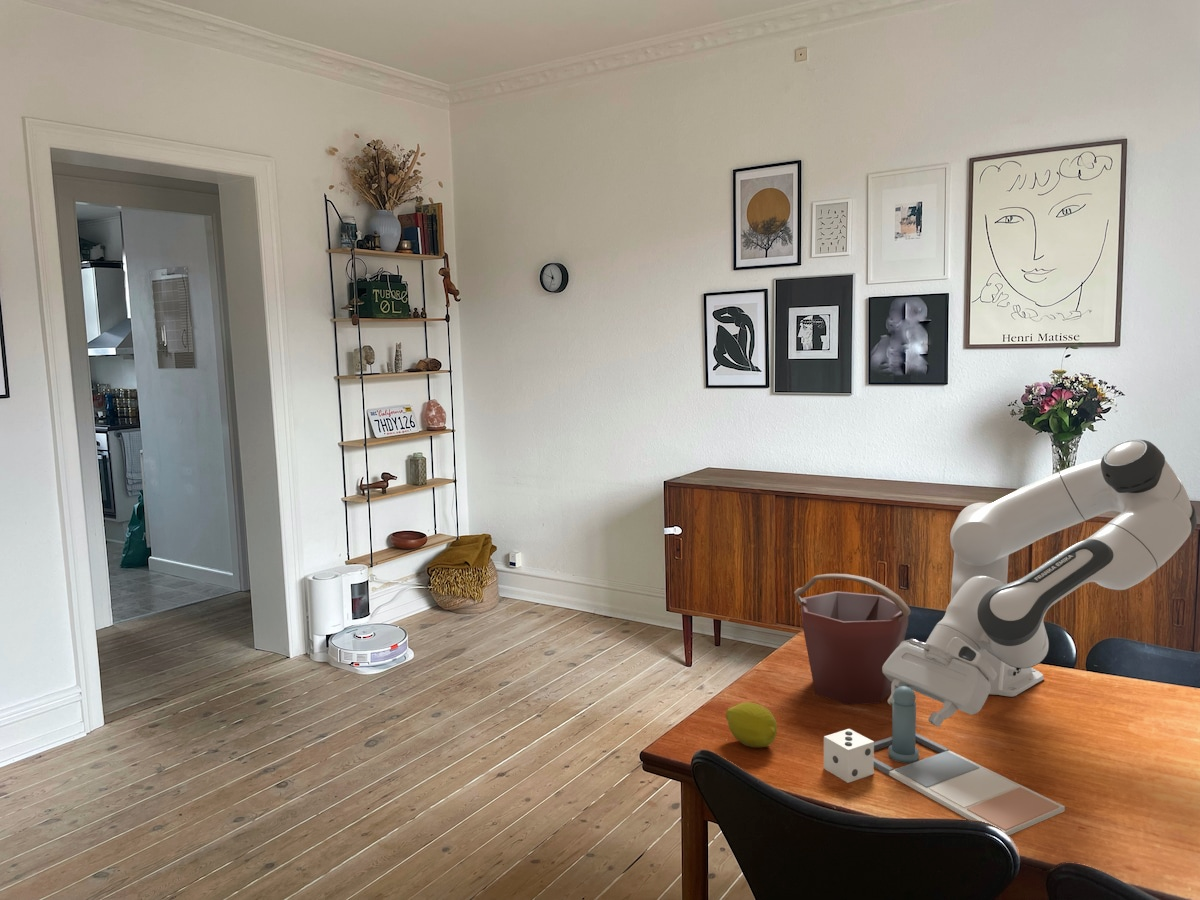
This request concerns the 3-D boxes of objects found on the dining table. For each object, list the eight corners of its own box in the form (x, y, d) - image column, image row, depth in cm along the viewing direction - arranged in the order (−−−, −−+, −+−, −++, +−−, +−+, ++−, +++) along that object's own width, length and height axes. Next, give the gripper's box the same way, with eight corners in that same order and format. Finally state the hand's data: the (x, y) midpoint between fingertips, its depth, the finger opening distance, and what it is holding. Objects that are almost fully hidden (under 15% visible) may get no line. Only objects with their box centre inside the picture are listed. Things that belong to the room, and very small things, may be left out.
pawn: (902, 747, 162) (903, 679, 160) (925, 758, 158) (926, 688, 156) (882, 753, 160) (883, 685, 158) (904, 765, 155) (905, 695, 154)
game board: (910, 735, 167) (910, 730, 167) (1064, 811, 139) (1064, 805, 139) (852, 754, 160) (852, 749, 160) (1002, 838, 132) (1002, 832, 132)
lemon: (787, 749, 162) (787, 708, 161) (756, 761, 158) (756, 719, 157) (748, 728, 172) (747, 690, 171) (717, 739, 167) (717, 699, 166)
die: (848, 760, 158) (849, 727, 157) (874, 774, 152) (874, 741, 152) (823, 768, 155) (823, 735, 154) (847, 783, 150) (848, 749, 149)
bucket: (774, 685, 192) (774, 575, 189) (834, 660, 206) (834, 557, 203) (872, 720, 174) (874, 599, 170) (930, 690, 188) (932, 577, 185)
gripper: (897, 627, 169) (860, 686, 166) (989, 659, 151) (949, 725, 148) (913, 645, 172) (877, 703, 168) (1005, 678, 154) (967, 744, 150)
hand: (912, 714), depth 158 cm, fingers open, 8 cm apart
